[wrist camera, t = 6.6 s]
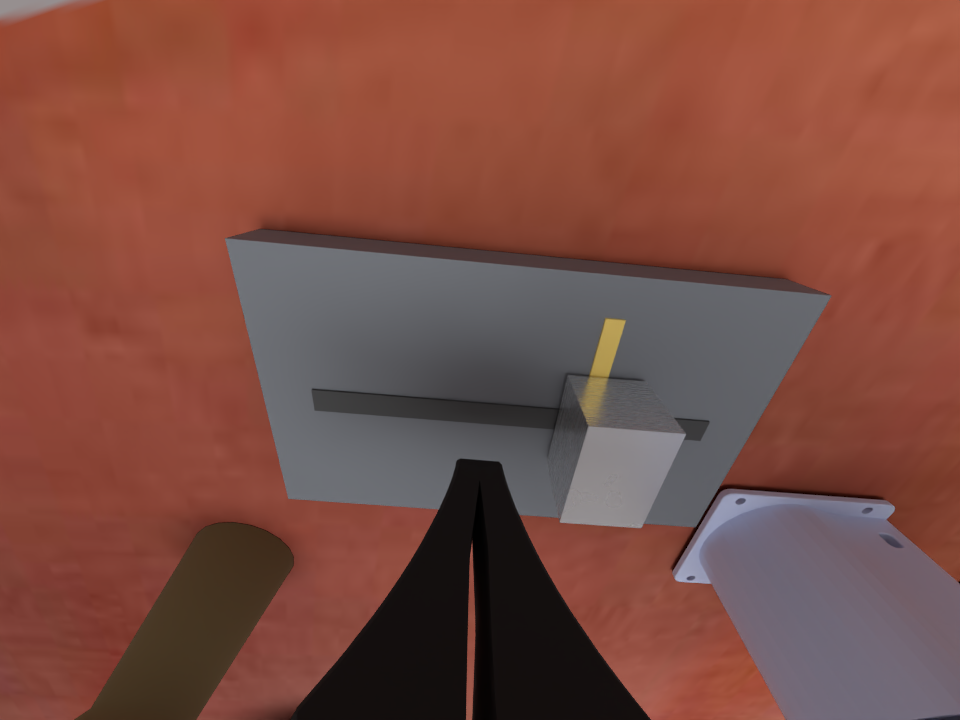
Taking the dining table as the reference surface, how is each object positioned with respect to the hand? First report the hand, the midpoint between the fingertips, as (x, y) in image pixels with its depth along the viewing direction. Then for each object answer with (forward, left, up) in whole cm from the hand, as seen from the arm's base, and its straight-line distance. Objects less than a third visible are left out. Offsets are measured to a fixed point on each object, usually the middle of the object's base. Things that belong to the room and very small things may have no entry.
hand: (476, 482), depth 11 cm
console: (-1, 0, -6) cm, 6 cm away
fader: (-5, 0, -3) cm, 6 cm away
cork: (+14, +14, -6) cm, 20 cm away
